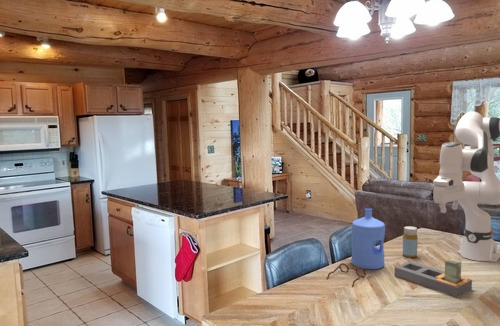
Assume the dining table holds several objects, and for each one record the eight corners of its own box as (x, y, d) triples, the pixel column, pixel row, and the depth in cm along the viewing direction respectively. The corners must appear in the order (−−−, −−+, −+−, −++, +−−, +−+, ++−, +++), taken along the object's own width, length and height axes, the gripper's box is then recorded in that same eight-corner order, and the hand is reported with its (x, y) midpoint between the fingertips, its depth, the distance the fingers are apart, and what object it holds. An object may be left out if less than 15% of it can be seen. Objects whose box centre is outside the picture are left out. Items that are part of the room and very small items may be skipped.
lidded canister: (418, 258, 198) (419, 229, 197) (403, 257, 200) (404, 229, 198) (415, 253, 205) (416, 226, 203) (401, 253, 206) (402, 225, 205)
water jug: (349, 267, 187) (350, 211, 184) (353, 257, 202) (354, 204, 199) (383, 272, 181) (384, 213, 178) (385, 260, 196) (386, 206, 193)
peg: (449, 285, 165) (450, 258, 164) (460, 289, 162) (461, 261, 160) (444, 288, 163) (445, 261, 161) (454, 292, 159) (456, 264, 158)
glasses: (366, 279, 175) (366, 268, 174) (352, 288, 165) (352, 277, 165) (340, 271, 184) (340, 261, 183) (325, 280, 174) (325, 269, 173)
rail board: (410, 269, 184) (410, 260, 184) (471, 289, 162) (472, 279, 161) (394, 275, 177) (394, 266, 176) (456, 297, 154) (457, 287, 154)
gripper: (454, 176, 176) (453, 206, 177) (430, 181, 164) (429, 213, 165) (469, 178, 171) (468, 208, 172) (445, 183, 159) (444, 216, 160)
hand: (449, 211), depth 169 cm, fingers open, 8 cm apart
